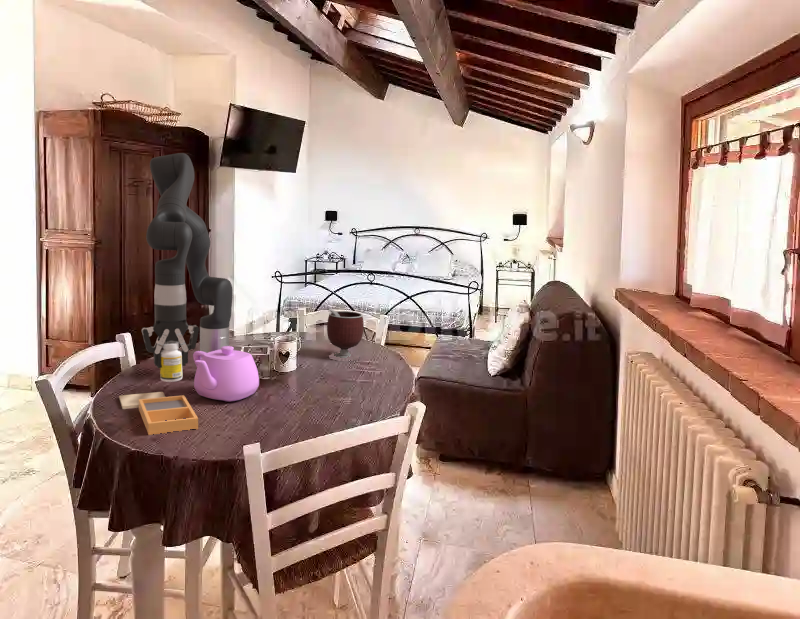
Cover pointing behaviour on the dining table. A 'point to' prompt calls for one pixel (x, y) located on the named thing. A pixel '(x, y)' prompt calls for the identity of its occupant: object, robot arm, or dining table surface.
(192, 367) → the dining table surface
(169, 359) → the supplement bottle
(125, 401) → the mat
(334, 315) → the mate gourd
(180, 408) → the divided wooden tray
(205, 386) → the teapot
